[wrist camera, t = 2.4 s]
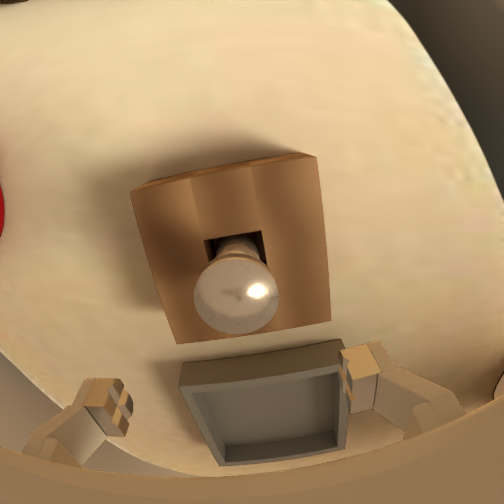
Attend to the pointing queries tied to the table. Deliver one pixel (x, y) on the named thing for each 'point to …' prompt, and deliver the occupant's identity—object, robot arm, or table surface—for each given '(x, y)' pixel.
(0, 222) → the alarm clock
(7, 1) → the hand tool
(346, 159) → the table surface
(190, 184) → the block
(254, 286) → the pin
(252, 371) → the tray
